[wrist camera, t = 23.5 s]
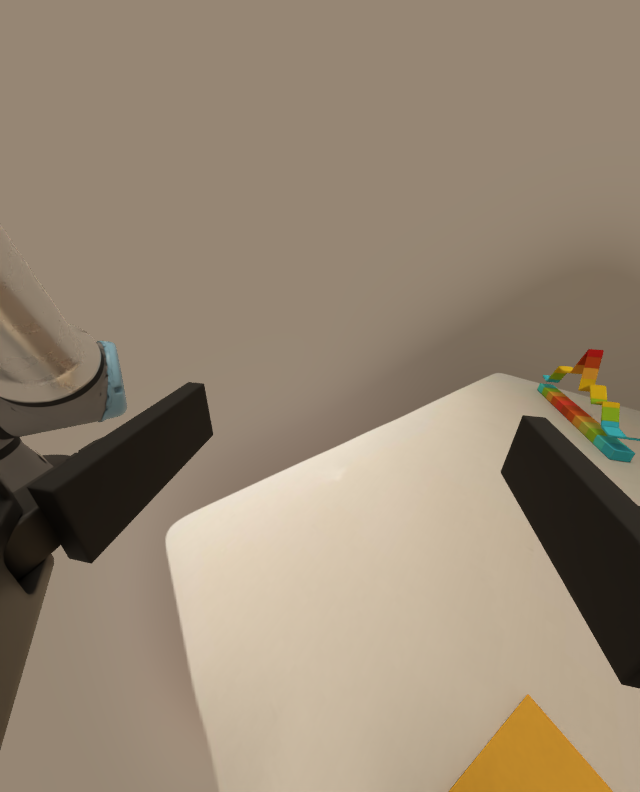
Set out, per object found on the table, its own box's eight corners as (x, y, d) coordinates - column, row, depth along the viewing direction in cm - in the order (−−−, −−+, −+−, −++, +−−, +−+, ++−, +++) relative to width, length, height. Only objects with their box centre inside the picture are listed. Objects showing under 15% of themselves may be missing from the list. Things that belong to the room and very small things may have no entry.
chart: (631, 462, 49) (681, 383, 42) (609, 459, 49) (655, 381, 43) (550, 391, 75) (574, 336, 68) (537, 389, 76) (558, 335, 69)
